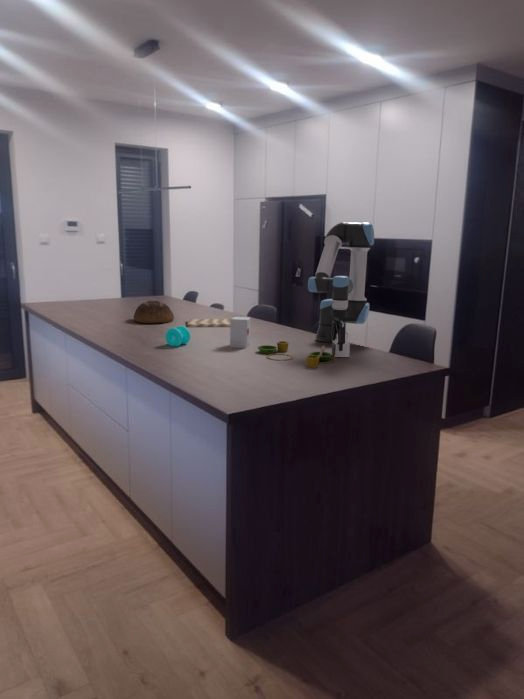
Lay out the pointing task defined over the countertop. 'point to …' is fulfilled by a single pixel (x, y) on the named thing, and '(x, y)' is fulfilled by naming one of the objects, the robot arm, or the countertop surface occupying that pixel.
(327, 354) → the tableware set
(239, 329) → the supplement box
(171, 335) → the donuts
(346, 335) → the medicine bottle
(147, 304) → the bread
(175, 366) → the countertop surface
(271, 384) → the countertop surface
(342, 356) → the robot arm
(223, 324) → the cutting board
